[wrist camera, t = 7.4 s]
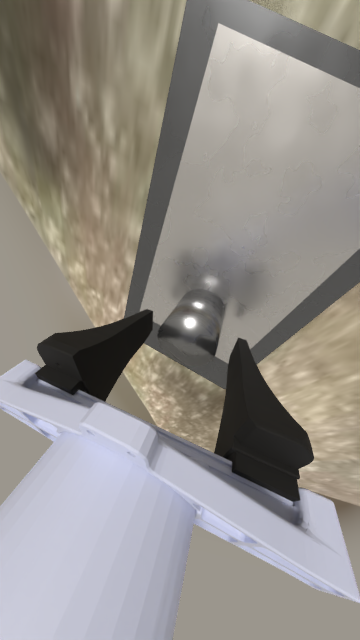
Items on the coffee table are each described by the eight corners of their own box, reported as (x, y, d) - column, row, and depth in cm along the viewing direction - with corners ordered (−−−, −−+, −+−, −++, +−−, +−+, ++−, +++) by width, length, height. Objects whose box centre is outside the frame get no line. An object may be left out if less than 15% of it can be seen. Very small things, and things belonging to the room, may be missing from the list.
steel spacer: (229, 292, 14) (221, 326, 10) (221, 333, 16) (212, 372, 12) (179, 285, 15) (155, 313, 11) (179, 324, 17) (159, 357, 14)
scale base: (508, 143, 7) (556, 130, 6) (226, 381, 22) (224, 391, 21) (198, 1, 8) (189, -34, 7) (126, 325, 23) (120, 331, 22)
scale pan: (460, 145, 7) (475, 141, 7) (232, 362, 19) (232, 365, 18) (220, 34, 8) (218, 22, 7) (141, 310, 19) (139, 313, 19)
